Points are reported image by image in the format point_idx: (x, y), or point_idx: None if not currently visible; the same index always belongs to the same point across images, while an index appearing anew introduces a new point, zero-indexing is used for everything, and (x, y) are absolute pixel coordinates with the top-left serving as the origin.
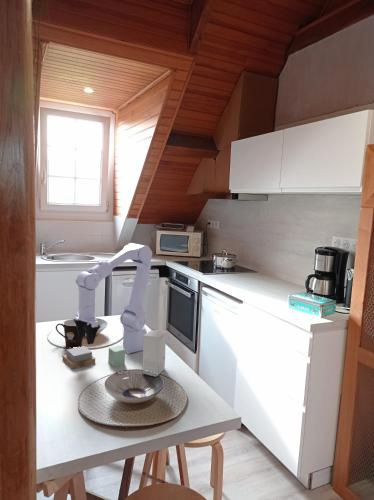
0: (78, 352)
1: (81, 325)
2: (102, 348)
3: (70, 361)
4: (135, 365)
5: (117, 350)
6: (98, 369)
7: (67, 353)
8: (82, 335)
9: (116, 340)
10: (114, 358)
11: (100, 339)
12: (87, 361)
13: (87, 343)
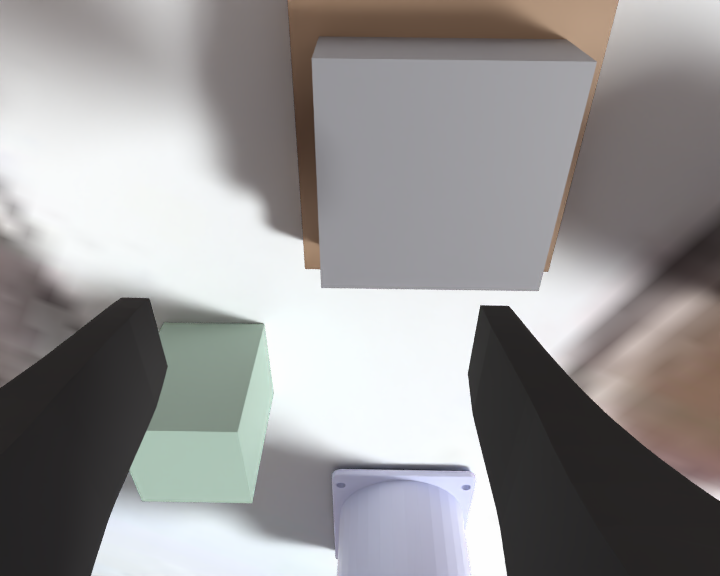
0: (398, 160)
1: (537, 529)
2: None
3: (375, 10)
4: None
5: (140, 456)
6: (170, 212)
7: (550, 49)
8: (477, 363)
9: None
10: None
11: (705, 445)
12: (300, 186)
13: (145, 301)
